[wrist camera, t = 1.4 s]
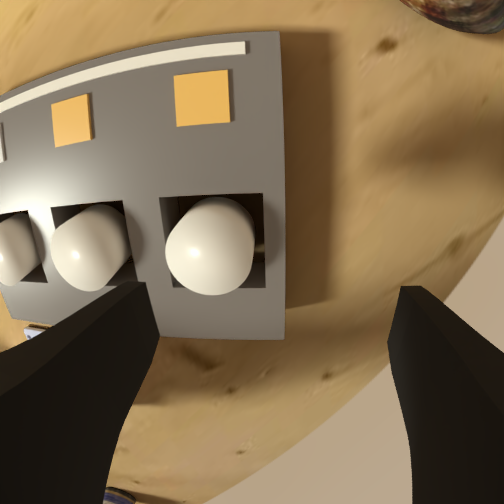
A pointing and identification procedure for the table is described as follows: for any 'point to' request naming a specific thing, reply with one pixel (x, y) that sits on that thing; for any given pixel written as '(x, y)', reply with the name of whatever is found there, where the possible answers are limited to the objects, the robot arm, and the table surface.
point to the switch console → (152, 171)
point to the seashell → (462, 14)
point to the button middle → (91, 247)
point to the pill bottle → (117, 497)
